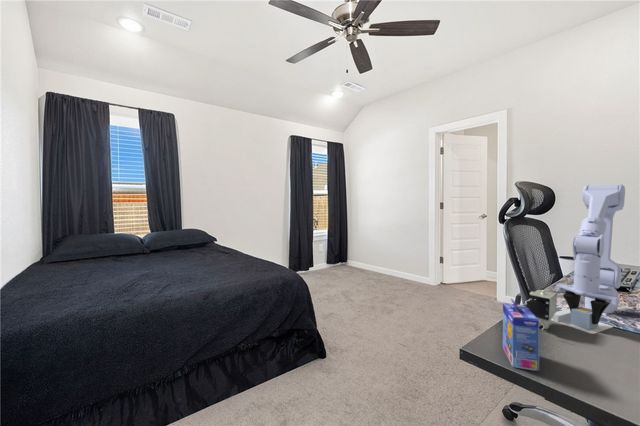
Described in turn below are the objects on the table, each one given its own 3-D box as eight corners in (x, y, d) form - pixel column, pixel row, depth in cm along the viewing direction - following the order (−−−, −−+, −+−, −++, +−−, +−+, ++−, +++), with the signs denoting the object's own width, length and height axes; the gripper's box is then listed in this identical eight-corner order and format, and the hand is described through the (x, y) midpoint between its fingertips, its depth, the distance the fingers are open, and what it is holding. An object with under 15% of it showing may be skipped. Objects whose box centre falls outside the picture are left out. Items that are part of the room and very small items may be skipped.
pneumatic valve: (556, 326, 90) (558, 288, 89) (546, 338, 82) (548, 296, 82) (535, 320, 94) (536, 284, 94) (523, 331, 87) (524, 291, 86)
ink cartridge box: (500, 347, 77) (502, 293, 77) (524, 350, 76) (527, 296, 75) (511, 367, 68) (513, 306, 67) (539, 372, 66) (542, 309, 66)
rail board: (571, 316, 97) (571, 307, 97) (613, 329, 88) (614, 319, 88) (549, 322, 93) (550, 312, 93) (592, 337, 83) (592, 326, 83)
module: (580, 320, 91) (580, 306, 91) (598, 326, 87) (598, 311, 87) (570, 323, 89) (571, 308, 89) (589, 329, 85) (589, 314, 85)
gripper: (551, 271, 92) (549, 313, 93) (611, 283, 79) (609, 332, 80) (564, 269, 95) (562, 310, 96) (624, 281, 82) (621, 328, 83)
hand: (584, 320), depth 88 cm, fingers closed on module, 4 cm apart
